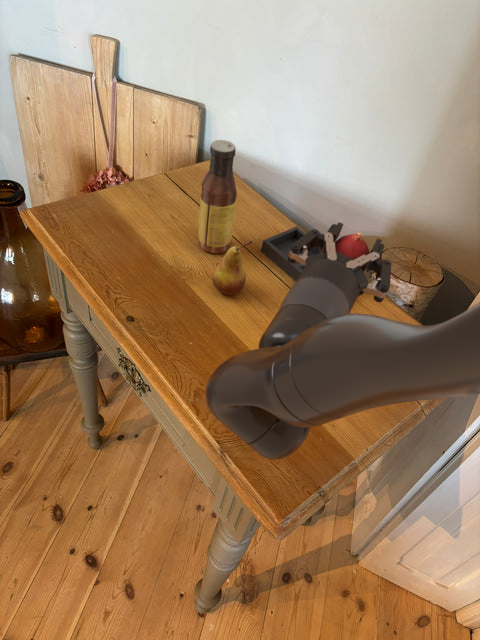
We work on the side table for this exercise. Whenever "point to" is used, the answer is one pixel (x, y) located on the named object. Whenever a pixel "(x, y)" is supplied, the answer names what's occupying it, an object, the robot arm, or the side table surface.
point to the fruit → (230, 272)
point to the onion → (352, 246)
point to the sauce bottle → (218, 199)
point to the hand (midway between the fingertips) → (357, 236)
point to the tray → (285, 251)
